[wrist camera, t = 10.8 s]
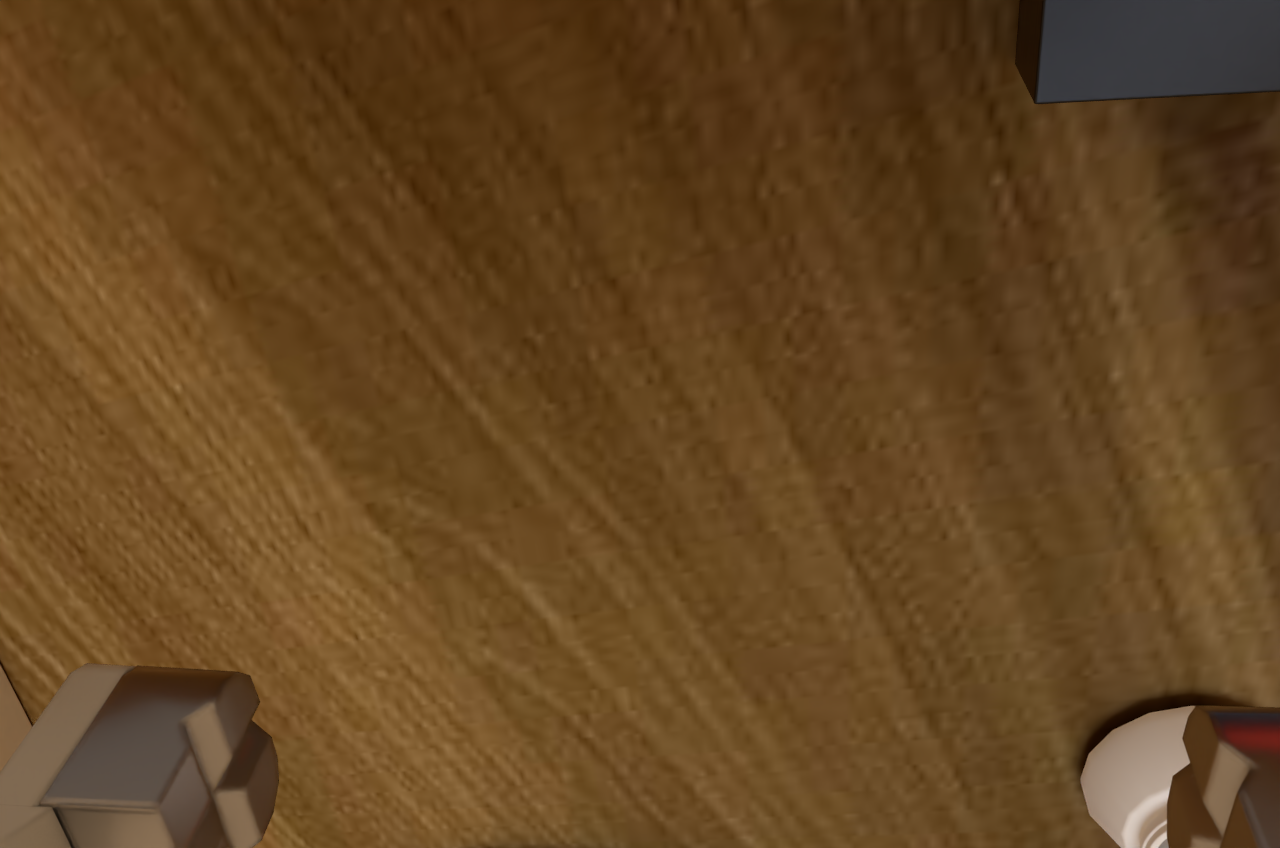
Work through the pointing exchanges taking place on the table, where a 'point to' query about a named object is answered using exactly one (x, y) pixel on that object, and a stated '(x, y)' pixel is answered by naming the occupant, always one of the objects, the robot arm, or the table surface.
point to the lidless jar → (1136, 777)
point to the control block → (1147, 48)
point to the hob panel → (10, 720)
